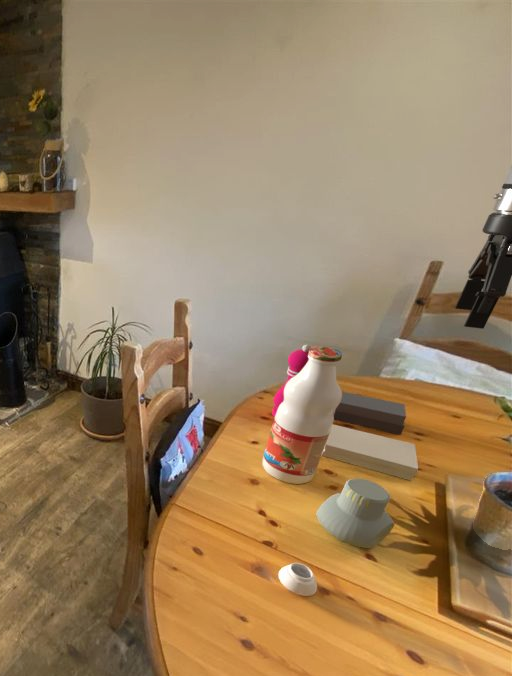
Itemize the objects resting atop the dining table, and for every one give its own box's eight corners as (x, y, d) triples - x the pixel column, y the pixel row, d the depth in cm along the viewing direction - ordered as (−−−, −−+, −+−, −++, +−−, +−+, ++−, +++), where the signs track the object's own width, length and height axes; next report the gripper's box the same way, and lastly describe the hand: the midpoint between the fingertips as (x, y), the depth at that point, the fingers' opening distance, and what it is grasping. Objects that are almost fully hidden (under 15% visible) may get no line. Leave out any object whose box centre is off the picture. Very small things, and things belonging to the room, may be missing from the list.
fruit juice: (322, 486, 84) (371, 362, 71) (271, 484, 86) (310, 361, 73) (299, 457, 93) (340, 341, 80) (254, 455, 94) (286, 341, 81)
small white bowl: (278, 589, 65) (317, 602, 63) (283, 577, 64) (323, 590, 62) (277, 565, 69) (314, 576, 67) (282, 553, 68) (319, 564, 65)
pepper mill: (300, 411, 109) (323, 340, 99) (304, 426, 103) (329, 352, 94) (268, 407, 112) (287, 337, 102) (271, 420, 106) (291, 348, 97)
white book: (412, 448, 90) (415, 443, 89) (416, 473, 83) (418, 468, 82) (327, 427, 98) (328, 423, 97) (323, 448, 91) (325, 444, 91)
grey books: (399, 421, 102) (407, 404, 100) (400, 435, 98) (409, 417, 95) (333, 406, 110) (339, 390, 108) (331, 419, 105) (338, 402, 103)
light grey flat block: (410, 459, 90) (414, 450, 89) (412, 481, 84) (417, 471, 83) (324, 437, 99) (327, 429, 97) (321, 455, 93) (324, 447, 92)
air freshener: (357, 561, 69) (379, 517, 64) (305, 528, 75) (322, 486, 71) (392, 535, 73) (415, 492, 68) (340, 506, 80) (357, 464, 75)
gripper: (479, 205, 91) (437, 300, 100) (504, 220, 73) (451, 332, 83) (531, 205, 86) (482, 304, 96) (570, 221, 69) (506, 339, 79)
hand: (468, 317), depth 90 cm, fingers open, 13 cm apart
